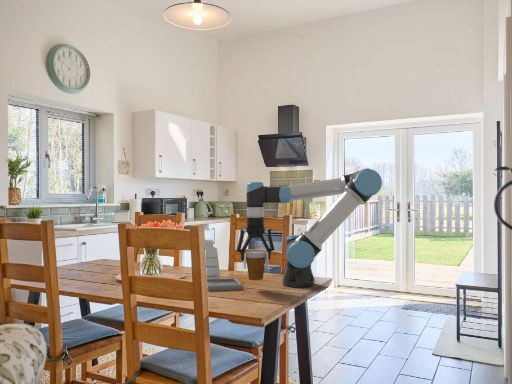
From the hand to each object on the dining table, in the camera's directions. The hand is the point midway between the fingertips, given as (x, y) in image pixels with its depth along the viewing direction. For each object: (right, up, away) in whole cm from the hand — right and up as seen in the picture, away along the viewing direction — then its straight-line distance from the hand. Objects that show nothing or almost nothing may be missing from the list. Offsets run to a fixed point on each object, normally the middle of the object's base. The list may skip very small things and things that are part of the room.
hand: (255, 267), depth 195 cm
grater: (-24, -10, +22) cm, 34 cm away
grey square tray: (-15, -10, +6) cm, 19 cm away
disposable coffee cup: (0, -5, 0) cm, 5 cm away
